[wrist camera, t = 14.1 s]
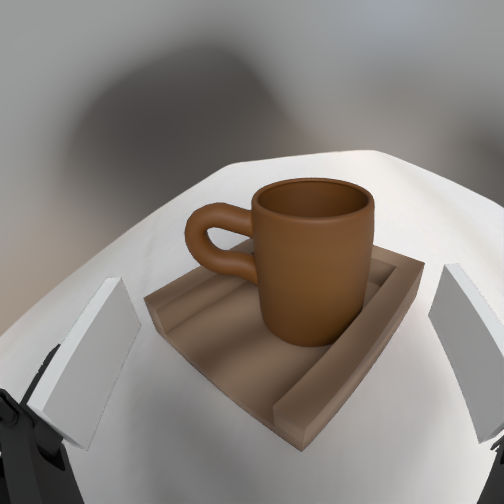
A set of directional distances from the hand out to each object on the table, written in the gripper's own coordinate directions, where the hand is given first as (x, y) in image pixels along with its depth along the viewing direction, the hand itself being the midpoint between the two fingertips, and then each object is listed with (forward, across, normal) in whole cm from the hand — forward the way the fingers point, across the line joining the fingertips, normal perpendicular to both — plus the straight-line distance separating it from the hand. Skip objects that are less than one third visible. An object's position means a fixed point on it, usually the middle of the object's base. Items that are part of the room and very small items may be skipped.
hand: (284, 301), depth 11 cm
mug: (+8, 0, -8) cm, 11 cm away
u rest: (+9, +1, -9) cm, 12 cm away
